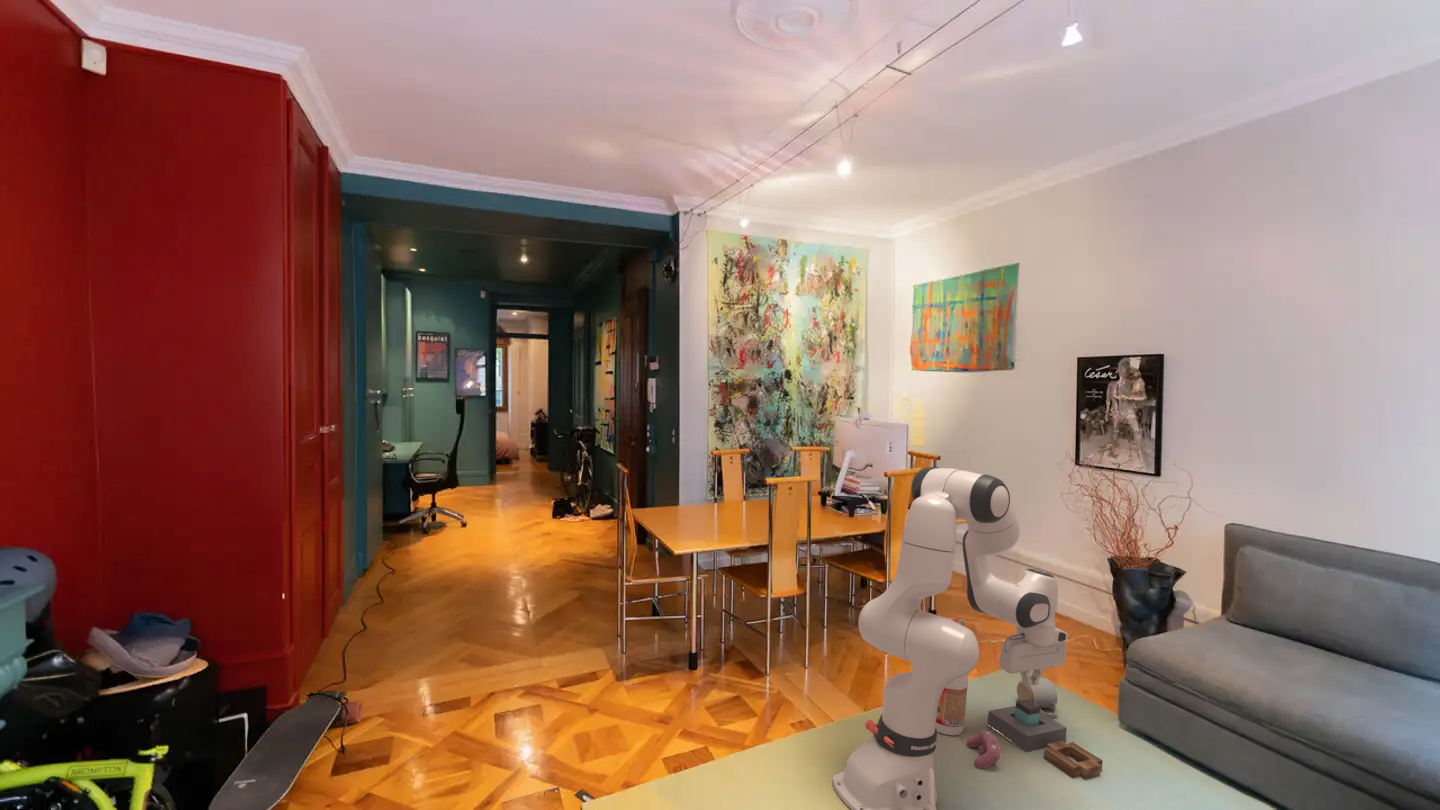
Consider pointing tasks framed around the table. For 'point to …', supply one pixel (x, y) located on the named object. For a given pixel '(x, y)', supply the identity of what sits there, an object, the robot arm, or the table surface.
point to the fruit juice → (952, 705)
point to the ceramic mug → (1039, 695)
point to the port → (1026, 729)
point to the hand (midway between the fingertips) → (1030, 684)
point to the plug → (1027, 713)
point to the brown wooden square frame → (1086, 761)
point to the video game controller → (985, 748)
